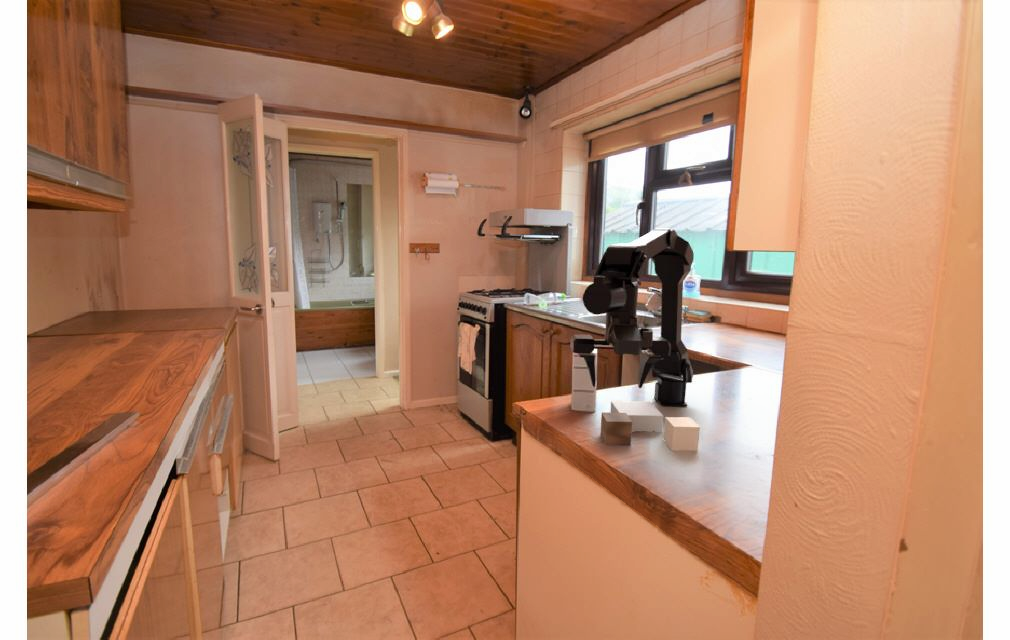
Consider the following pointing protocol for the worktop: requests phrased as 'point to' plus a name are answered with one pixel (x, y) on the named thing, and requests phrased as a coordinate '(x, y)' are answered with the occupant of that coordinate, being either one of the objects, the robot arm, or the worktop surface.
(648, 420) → the base block
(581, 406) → the syrup box
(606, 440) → the walnut cube
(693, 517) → the worktop surface
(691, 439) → the cream cube
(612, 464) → the worktop surface
